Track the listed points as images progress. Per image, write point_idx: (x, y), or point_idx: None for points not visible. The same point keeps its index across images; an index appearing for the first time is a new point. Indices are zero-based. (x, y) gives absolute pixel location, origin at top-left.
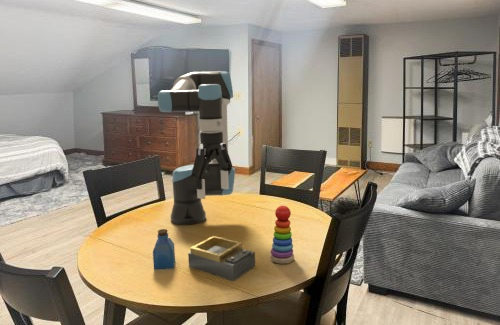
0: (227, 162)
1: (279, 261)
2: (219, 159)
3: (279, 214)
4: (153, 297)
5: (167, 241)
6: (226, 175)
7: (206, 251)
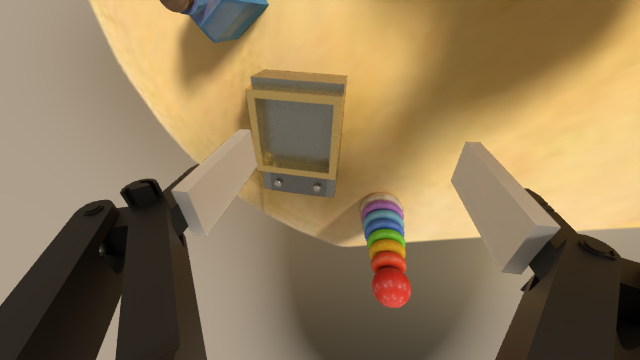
0: (630, 352)
1: (360, 212)
2: None
3: (372, 286)
4: (152, 89)
5: (200, 16)
6: (486, 239)
7: (255, 137)
